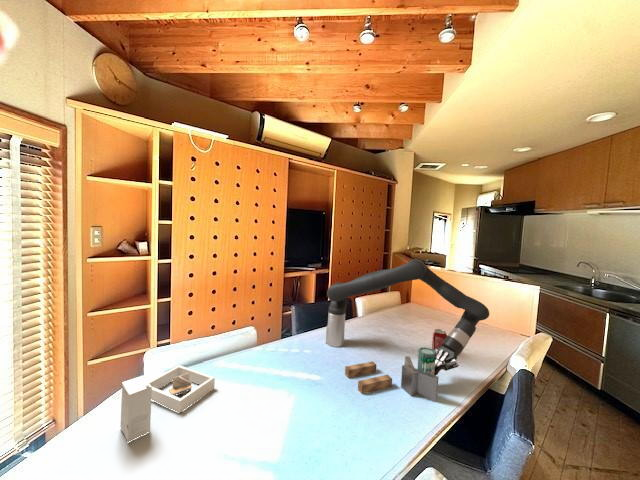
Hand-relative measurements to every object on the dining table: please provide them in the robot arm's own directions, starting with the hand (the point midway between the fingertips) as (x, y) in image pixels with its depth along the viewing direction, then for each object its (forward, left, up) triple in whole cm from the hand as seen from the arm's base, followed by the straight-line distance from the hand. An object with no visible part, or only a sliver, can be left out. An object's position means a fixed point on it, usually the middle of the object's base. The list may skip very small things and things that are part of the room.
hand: (432, 374), depth 108 cm
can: (-2, -3, -5) cm, 6 cm away
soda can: (+4, +31, -5) cm, 32 cm away
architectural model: (-85, -49, -5) cm, 98 cm away
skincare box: (-82, -67, -5) cm, 106 cm away
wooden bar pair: (-25, -9, -5) cm, 27 cm away
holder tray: (-86, -49, -5) cm, 99 cm away
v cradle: (-6, -7, -5) cm, 10 cm away
